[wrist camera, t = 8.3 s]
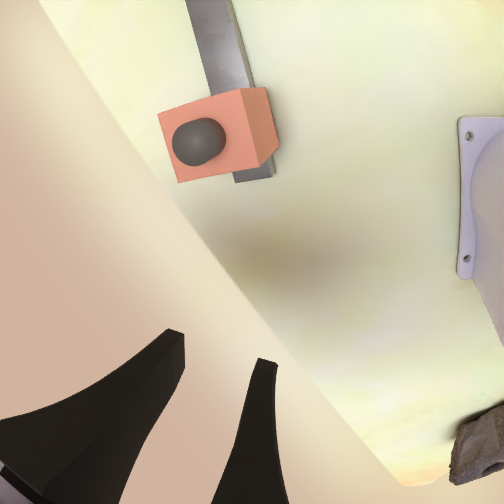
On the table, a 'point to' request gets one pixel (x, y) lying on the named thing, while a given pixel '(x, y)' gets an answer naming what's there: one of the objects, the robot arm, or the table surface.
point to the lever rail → (224, 60)
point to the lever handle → (220, 134)
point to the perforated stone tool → (478, 448)
